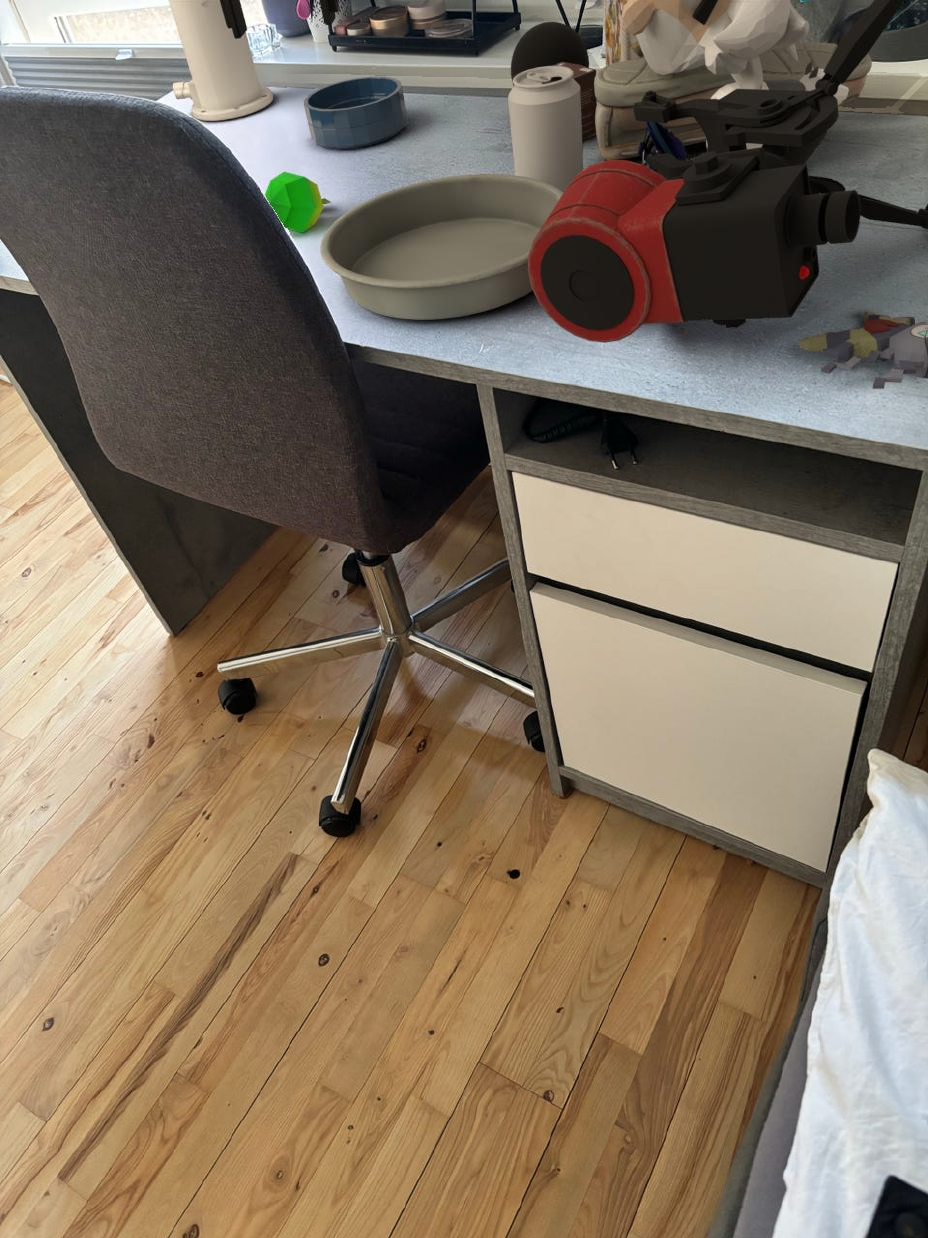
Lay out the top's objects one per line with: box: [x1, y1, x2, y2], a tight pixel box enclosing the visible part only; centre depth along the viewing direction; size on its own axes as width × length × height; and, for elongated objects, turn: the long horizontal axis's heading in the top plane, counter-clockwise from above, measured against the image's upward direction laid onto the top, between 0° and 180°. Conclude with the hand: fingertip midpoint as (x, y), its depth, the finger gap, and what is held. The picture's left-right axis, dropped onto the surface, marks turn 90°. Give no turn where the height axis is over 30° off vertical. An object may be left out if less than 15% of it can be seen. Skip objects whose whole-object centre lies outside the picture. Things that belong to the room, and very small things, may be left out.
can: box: [507, 66, 584, 193], centre depth 98 cm, size 8×8×12 cm
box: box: [553, 62, 598, 141], centre depth 111 cm, size 6×6×7 cm
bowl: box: [303, 75, 409, 150], centre depth 124 cm, size 13×13×5 cm
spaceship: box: [638, 122, 688, 172], centre depth 100 cm, size 7×6×5 cm
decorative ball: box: [510, 21, 590, 87], centre depth 118 cm, size 10×10×10 cm
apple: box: [264, 171, 333, 234], centre depth 104 cm, size 7×6×9 cm
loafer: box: [594, 41, 873, 161], centre depth 103 cm, size 11×30×9 cm, turn 88°
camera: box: [528, 0, 928, 344], centre depth 77 cm, size 25×30×29 cm
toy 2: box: [797, 310, 928, 390], centre depth 69 cm, size 15×4×15 cm
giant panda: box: [705, 61, 850, 152], centre depth 96 cm, size 15×6×10 cm, turn 93°
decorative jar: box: [604, 0, 645, 67], centre depth 107 cm, size 12×12×18 cm
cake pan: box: [319, 173, 563, 321], centre depth 90 cm, size 25×25×4 cm
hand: (285, 28), depth 96 cm, fingers open, 9 cm apart
